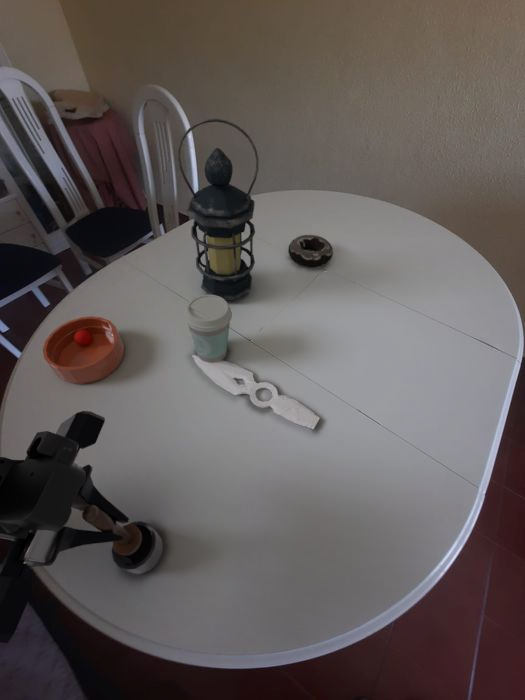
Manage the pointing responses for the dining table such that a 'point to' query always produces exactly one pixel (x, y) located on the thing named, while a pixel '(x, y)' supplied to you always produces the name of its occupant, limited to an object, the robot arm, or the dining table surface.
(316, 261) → the donut
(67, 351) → the bowl
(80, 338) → the cherry tomato
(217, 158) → the lantern
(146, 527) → the utensil holder
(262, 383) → the knife
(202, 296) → the coffee cup
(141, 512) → the dining table surface
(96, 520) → the brown wooden rod
